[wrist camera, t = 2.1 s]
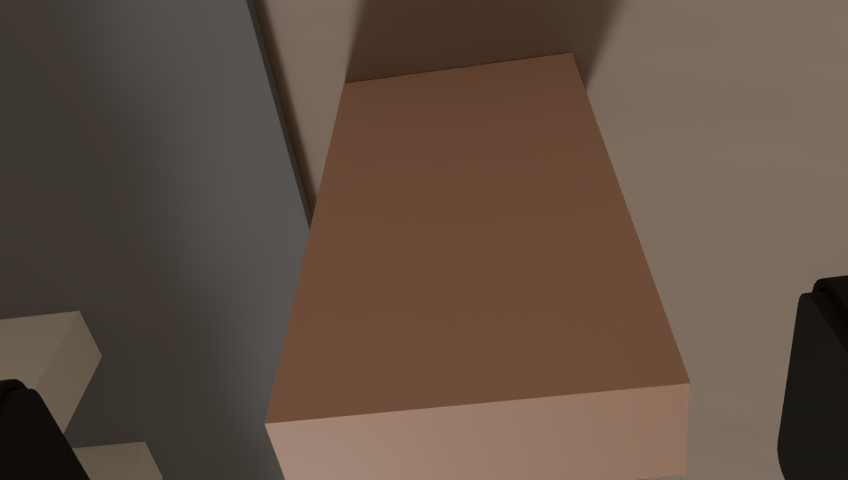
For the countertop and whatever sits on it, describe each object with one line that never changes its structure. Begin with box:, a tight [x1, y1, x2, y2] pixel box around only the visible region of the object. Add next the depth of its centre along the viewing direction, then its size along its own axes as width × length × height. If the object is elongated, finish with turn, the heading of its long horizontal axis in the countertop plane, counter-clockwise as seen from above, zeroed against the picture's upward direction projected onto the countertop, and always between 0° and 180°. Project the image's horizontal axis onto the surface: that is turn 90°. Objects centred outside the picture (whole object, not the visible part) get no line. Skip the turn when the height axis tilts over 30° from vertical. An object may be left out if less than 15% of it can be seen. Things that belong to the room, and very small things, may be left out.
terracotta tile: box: [265, 53, 690, 480], centre depth 14 cm, size 5×2×10 cm, turn 99°
